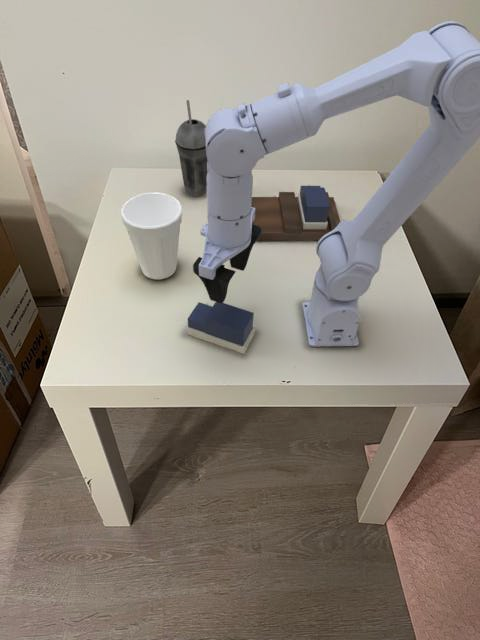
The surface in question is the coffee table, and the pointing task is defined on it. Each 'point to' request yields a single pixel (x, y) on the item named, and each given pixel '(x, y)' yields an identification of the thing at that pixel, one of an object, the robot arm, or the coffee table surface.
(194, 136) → the beverage cup
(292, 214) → the slotted wooden tray
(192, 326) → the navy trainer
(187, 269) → the coffee table surface
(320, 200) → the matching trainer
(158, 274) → the cup
